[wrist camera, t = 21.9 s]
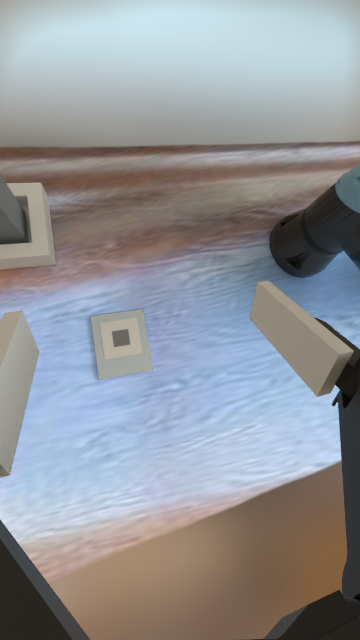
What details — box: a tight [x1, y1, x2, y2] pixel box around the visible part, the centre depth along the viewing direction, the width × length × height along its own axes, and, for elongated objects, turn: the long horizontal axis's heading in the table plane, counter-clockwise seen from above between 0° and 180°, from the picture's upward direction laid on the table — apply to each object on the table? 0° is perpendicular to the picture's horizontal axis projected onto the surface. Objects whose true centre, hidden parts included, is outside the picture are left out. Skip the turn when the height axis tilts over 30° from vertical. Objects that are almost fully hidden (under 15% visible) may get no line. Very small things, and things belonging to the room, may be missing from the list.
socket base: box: [0, 183, 56, 270], centre depth 46 cm, size 14×14×4 cm
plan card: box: [91, 309, 153, 380], centre depth 48 cm, size 10×12×1 cm
